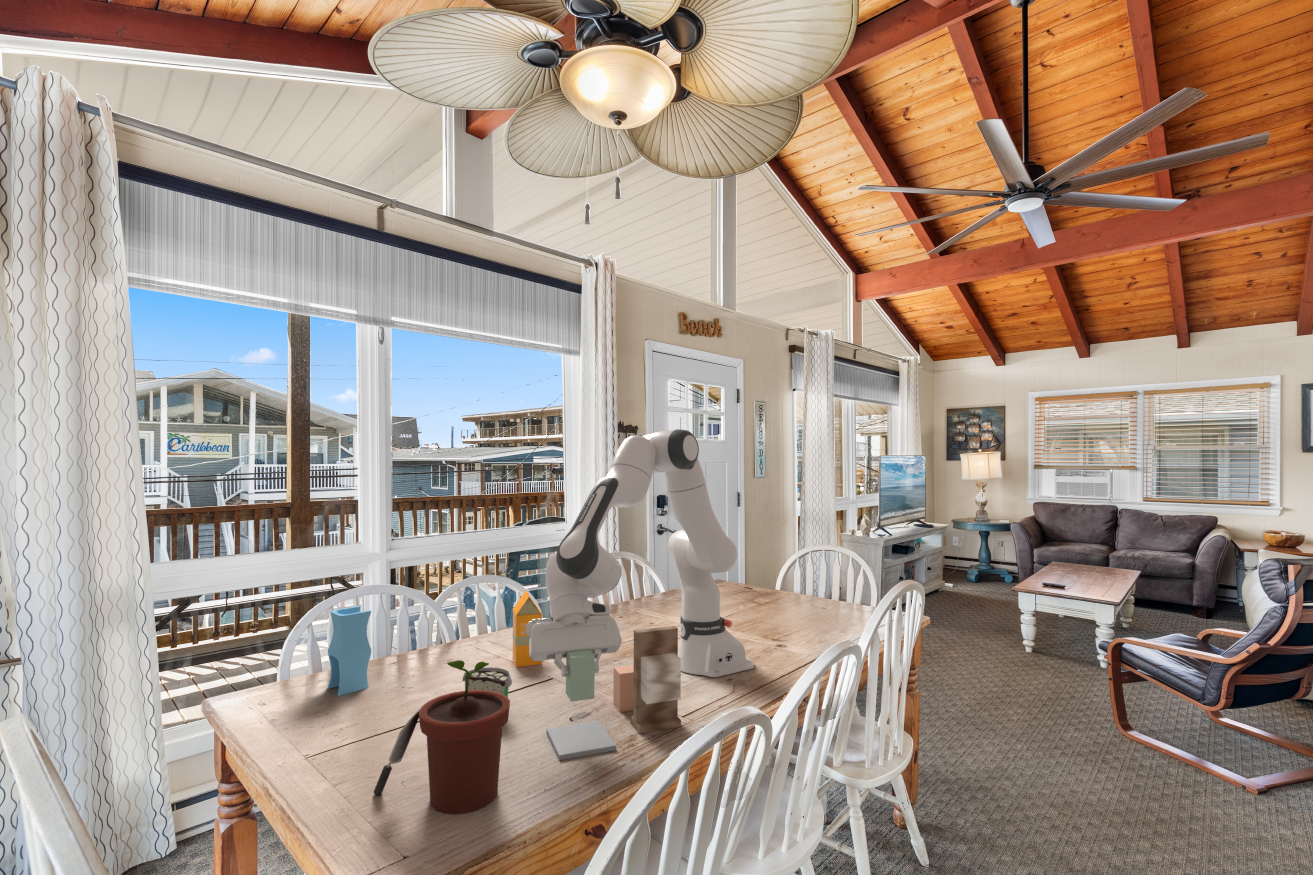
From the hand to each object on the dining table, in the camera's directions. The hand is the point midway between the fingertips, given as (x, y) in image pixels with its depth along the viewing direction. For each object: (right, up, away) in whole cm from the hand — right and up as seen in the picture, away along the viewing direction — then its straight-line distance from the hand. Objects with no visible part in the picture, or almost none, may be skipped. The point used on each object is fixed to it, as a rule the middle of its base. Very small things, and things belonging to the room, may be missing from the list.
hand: (580, 673), depth 133 cm
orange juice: (-22, -16, +52) cm, 59 cm away
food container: (-23, -15, +14) cm, 31 cm away
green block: (0, -5, 0) cm, 5 cm away
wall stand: (+16, -15, +9) cm, 23 cm away
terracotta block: (+9, -15, +19) cm, 26 cm away
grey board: (0, -15, 0) cm, 15 cm away
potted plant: (-21, -14, -20) cm, 32 cm away
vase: (-64, -15, +30) cm, 73 cm away
